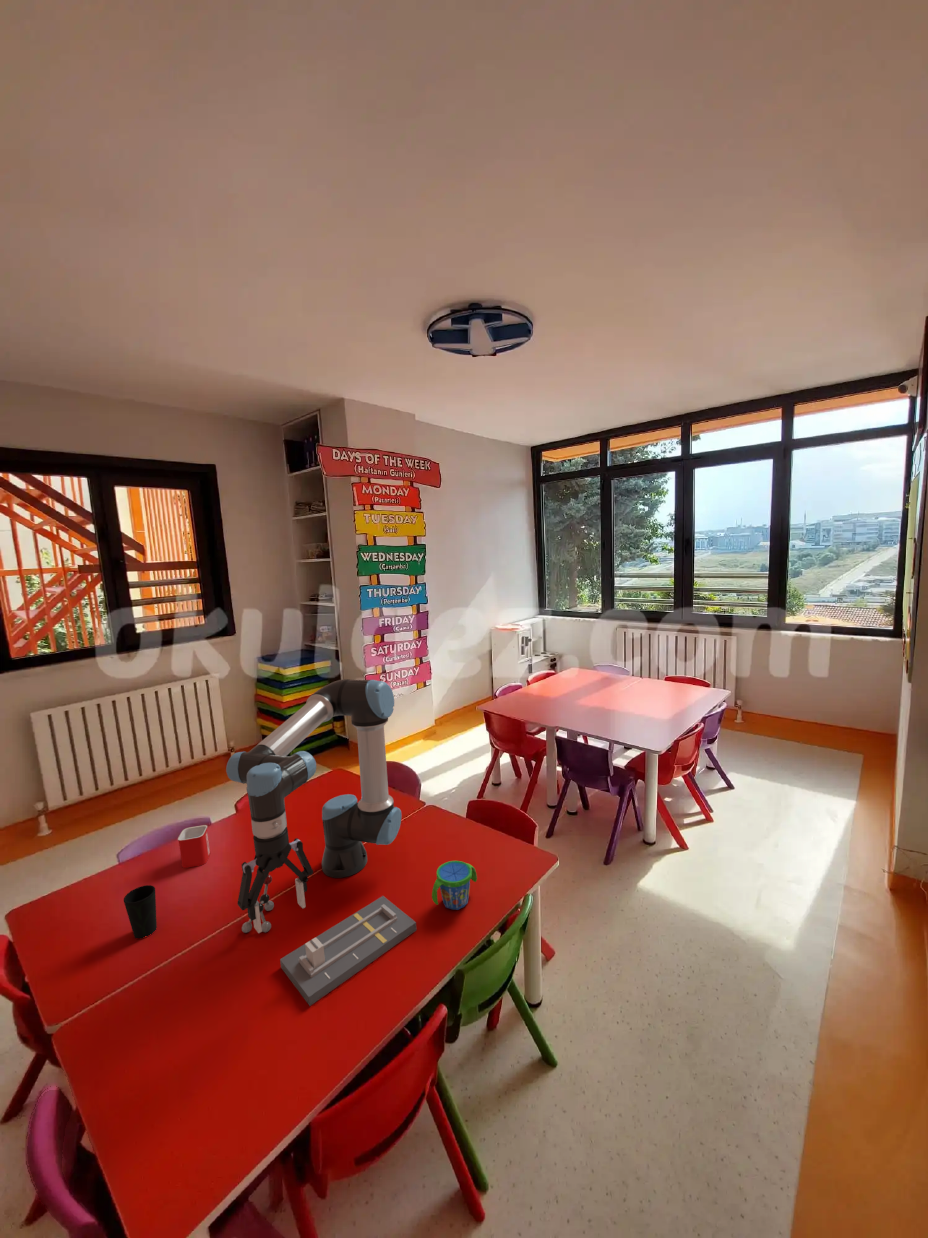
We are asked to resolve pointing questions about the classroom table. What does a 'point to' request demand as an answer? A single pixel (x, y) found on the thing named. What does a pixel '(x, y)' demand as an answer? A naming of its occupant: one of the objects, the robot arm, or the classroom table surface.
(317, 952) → the fader tab
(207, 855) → the mug
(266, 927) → the molecular model
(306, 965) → the panel
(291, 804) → the classroom table surface
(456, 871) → the snack cup
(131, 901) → the cup
